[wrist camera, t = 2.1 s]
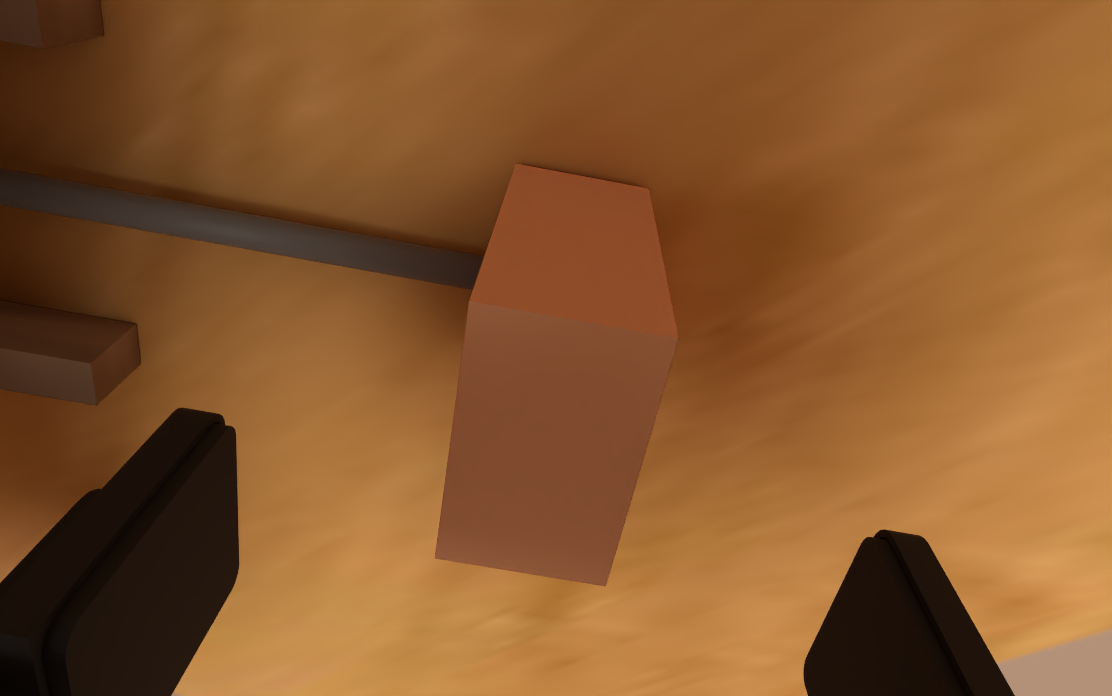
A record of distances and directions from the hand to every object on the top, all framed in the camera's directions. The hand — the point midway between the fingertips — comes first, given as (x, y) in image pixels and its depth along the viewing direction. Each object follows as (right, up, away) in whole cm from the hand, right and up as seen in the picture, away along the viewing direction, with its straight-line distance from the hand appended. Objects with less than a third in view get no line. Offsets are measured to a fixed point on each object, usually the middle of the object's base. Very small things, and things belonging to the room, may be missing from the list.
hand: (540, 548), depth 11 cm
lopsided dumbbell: (-9, +6, +6) cm, 13 cm away
